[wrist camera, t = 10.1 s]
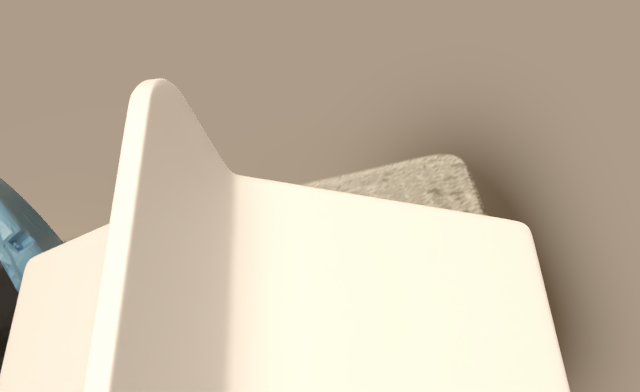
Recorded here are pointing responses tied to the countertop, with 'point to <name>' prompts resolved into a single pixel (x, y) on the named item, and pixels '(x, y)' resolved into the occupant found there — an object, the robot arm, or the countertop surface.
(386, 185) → the countertop surface
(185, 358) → the milk
